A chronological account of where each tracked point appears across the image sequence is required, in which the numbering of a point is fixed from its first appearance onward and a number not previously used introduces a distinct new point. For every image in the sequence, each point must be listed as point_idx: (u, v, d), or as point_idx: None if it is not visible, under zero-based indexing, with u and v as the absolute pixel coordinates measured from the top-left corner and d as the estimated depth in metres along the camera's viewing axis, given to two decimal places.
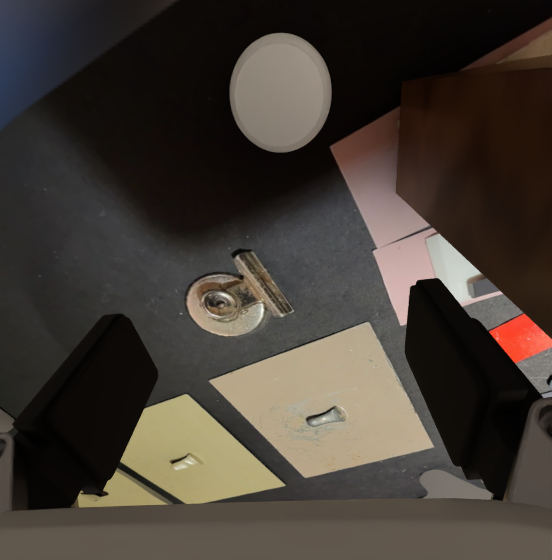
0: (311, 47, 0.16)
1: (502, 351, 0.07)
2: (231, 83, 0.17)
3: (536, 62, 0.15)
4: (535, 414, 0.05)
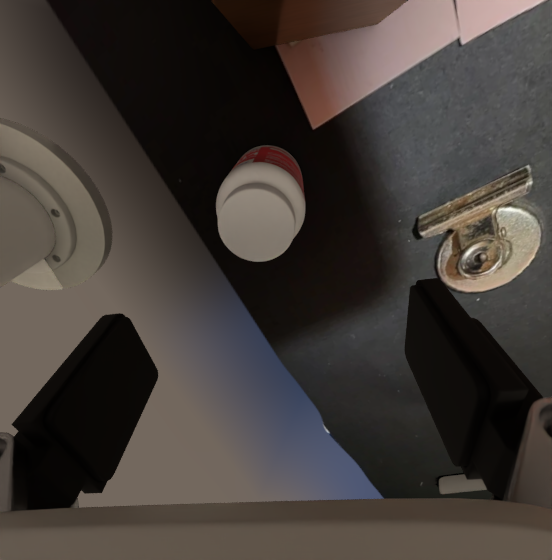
0: (222, 186, 0.19)
1: (502, 351, 0.07)
2: None
3: None
4: (535, 414, 0.05)
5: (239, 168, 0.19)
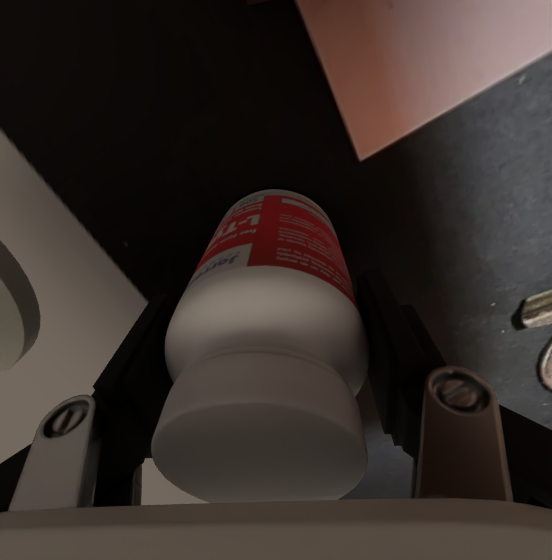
0: (175, 323, 0.08)
1: (425, 332, 0.08)
2: None
3: None
4: (430, 379, 0.06)
5: (215, 283, 0.08)
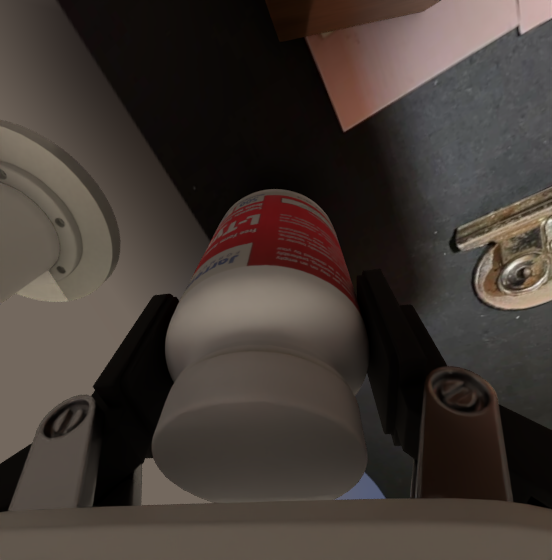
0: (175, 322, 0.08)
1: (425, 332, 0.08)
2: None
3: None
4: (430, 379, 0.06)
5: (215, 282, 0.08)
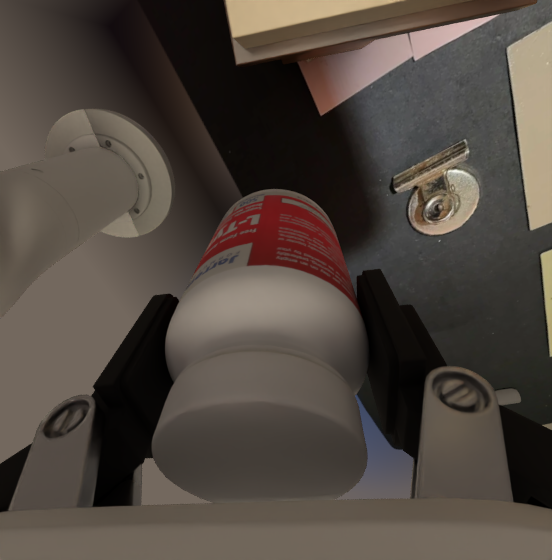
0: (175, 322, 0.08)
1: (425, 332, 0.08)
2: None
3: None
4: (430, 379, 0.06)
5: (215, 282, 0.08)
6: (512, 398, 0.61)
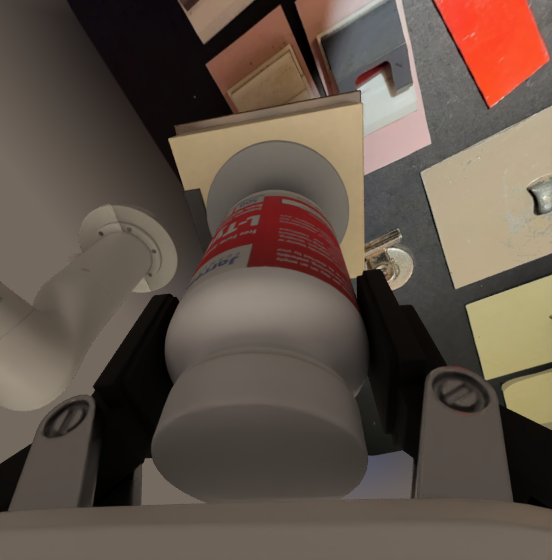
0: (175, 324, 0.08)
1: (425, 332, 0.08)
2: None
3: None
4: (430, 379, 0.06)
5: (215, 284, 0.08)
6: None
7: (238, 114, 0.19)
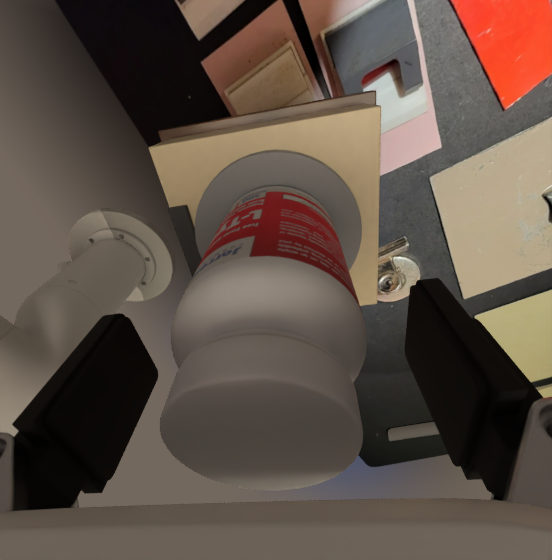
0: (181, 310, 0.08)
1: (502, 351, 0.07)
2: None
3: None
4: (535, 414, 0.05)
5: (219, 272, 0.08)
6: None
7: (232, 118, 0.16)
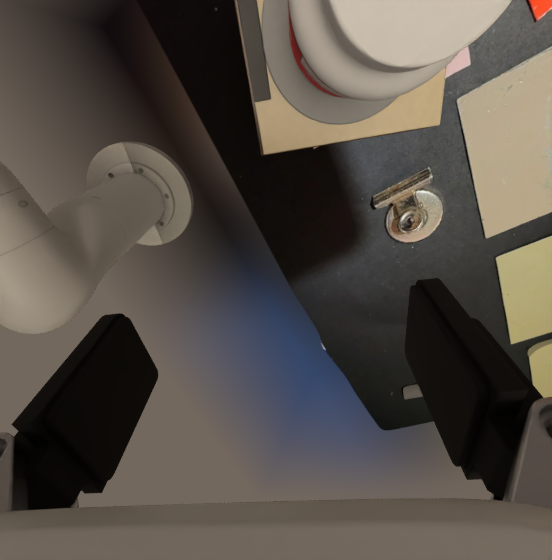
0: None
1: (502, 351, 0.07)
2: (355, 92, 0.10)
3: None
4: (535, 414, 0.05)
5: None
6: None
7: None
